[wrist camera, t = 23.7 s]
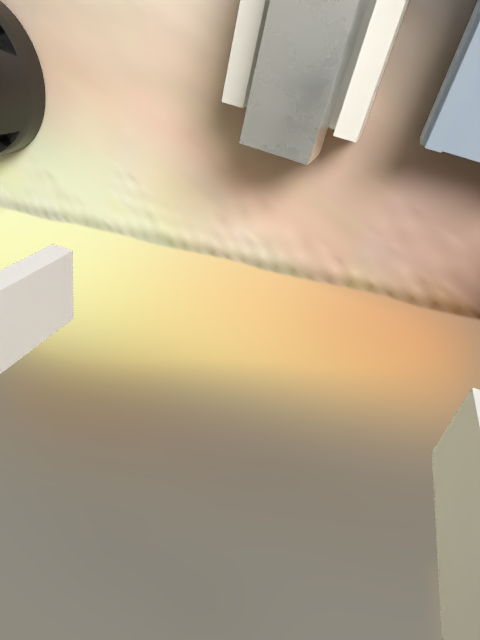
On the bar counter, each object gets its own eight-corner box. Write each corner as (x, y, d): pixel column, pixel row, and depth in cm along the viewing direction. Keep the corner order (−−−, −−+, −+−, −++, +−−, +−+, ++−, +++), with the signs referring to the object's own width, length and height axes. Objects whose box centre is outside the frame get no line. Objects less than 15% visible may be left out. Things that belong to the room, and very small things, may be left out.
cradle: (241, 97, 40) (221, 101, 36) (273, -61, 34) (254, -79, 30) (361, 134, 38) (355, 142, 34) (418, -27, 32) (419, -40, 28)
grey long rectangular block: (319, 153, 38) (307, 165, 33) (259, 133, 39) (238, 143, 34) (412, -139, 28) (413, -178, 24) (328, -157, 29) (313, -198, 24)
